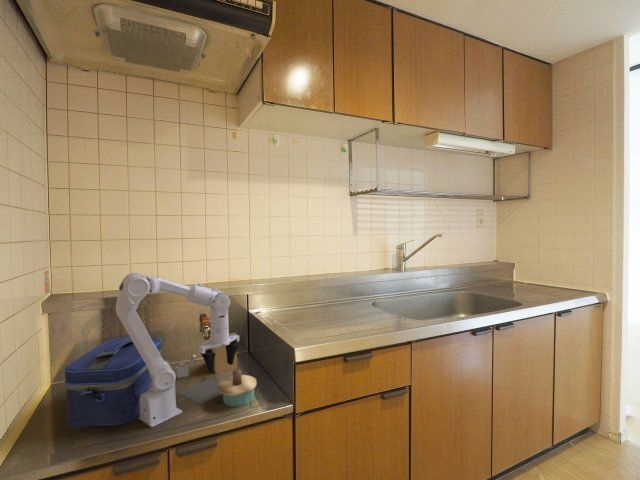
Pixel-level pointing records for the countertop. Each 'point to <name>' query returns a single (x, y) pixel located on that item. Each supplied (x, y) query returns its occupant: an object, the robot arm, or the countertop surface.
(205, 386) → the mat
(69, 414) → the lunch bag
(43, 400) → the countertop surface
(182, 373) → the lighter
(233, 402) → the bowl
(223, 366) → the sandwich container
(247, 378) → the lid
